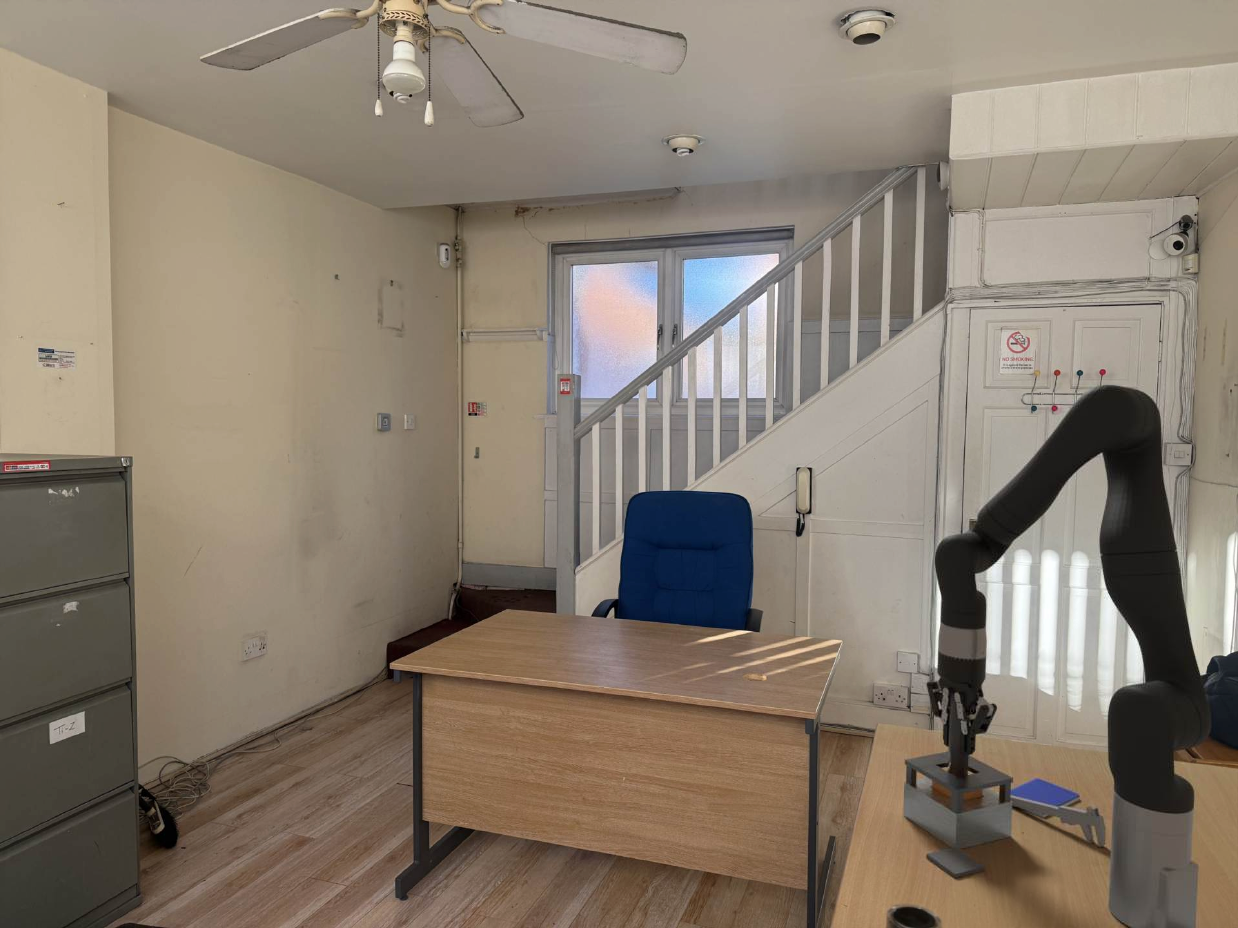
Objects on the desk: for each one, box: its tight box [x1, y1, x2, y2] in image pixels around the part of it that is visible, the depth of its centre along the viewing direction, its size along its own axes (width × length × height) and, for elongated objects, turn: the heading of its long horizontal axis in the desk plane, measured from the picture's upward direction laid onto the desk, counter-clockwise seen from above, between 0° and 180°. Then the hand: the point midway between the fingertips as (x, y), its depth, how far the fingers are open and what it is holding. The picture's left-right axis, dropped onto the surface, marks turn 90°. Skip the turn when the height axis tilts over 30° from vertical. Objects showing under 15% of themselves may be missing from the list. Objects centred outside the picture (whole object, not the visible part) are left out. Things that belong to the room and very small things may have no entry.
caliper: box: [995, 791, 1107, 848], centre depth 137 cm, size 20×1×6 cm, turn 31°
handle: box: [947, 693, 970, 777], centre depth 134 cm, size 3×3×15 cm
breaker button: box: [932, 780, 983, 801], centre depth 134 cm, size 6×6×5 cm
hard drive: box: [1011, 777, 1081, 819], centre depth 145 cm, size 2×8×12 cm
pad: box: [925, 847, 986, 879], centre depth 123 cm, size 6×6×1 cm
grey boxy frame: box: [902, 751, 1014, 850], centre depth 134 cm, size 12×12×10 cm
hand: (958, 749), depth 134 cm, fingers closed on handle, 3 cm apart
